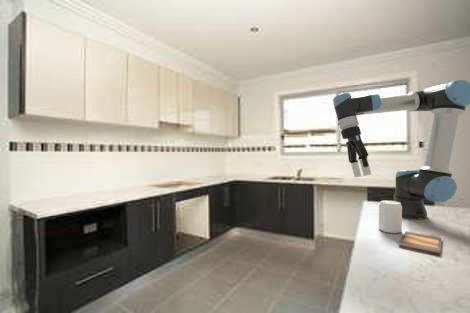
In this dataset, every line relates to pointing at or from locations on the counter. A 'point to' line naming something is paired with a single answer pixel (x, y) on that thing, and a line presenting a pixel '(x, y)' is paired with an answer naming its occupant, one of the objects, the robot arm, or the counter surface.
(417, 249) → the label board
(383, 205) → the beverage can
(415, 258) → the counter surface
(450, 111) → the robot arm
